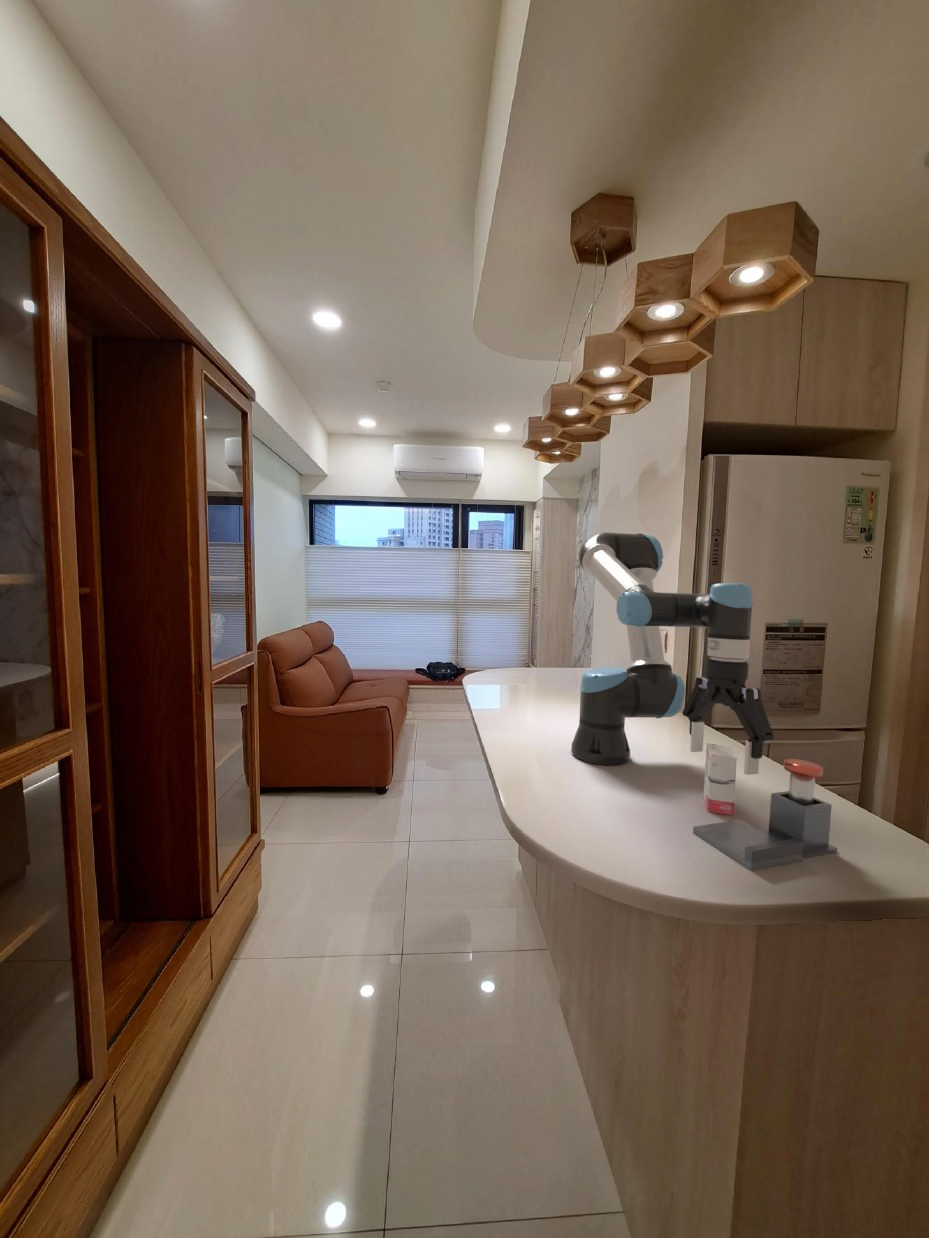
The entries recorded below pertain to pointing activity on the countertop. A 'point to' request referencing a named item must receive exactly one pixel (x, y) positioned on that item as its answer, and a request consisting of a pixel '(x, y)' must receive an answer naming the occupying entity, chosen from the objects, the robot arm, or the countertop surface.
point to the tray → (750, 844)
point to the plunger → (802, 780)
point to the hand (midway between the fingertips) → (721, 761)
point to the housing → (801, 823)
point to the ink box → (720, 779)
